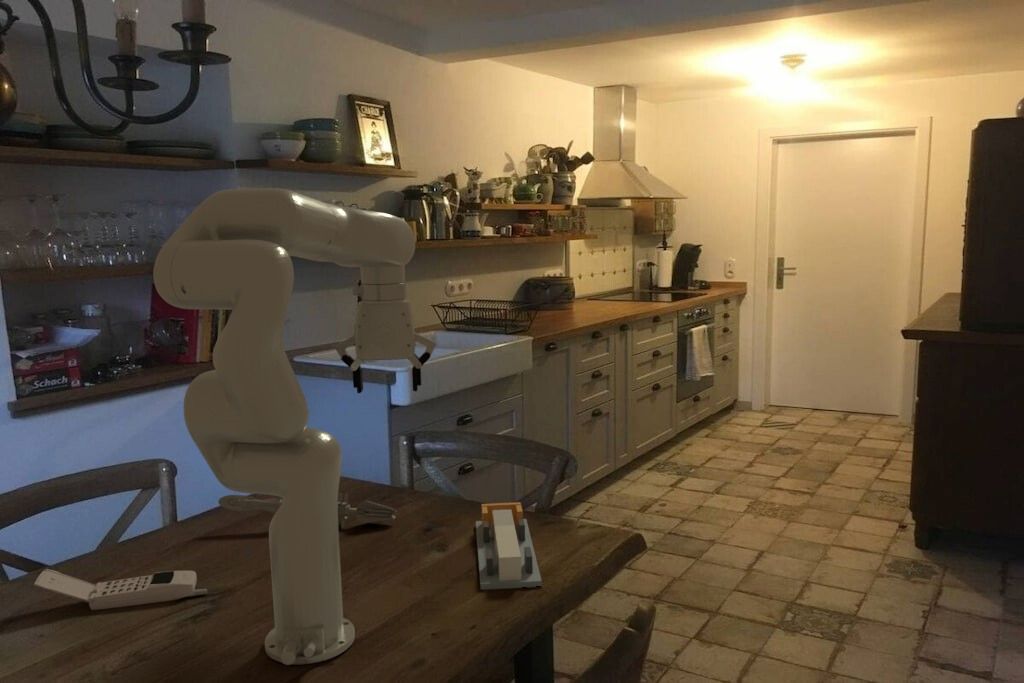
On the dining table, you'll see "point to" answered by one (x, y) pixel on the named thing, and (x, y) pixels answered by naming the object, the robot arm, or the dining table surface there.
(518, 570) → the long cream stick
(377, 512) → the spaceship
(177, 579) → the mobile phone
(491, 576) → the clip rail
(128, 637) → the dining table surface
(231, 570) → the dining table surface
